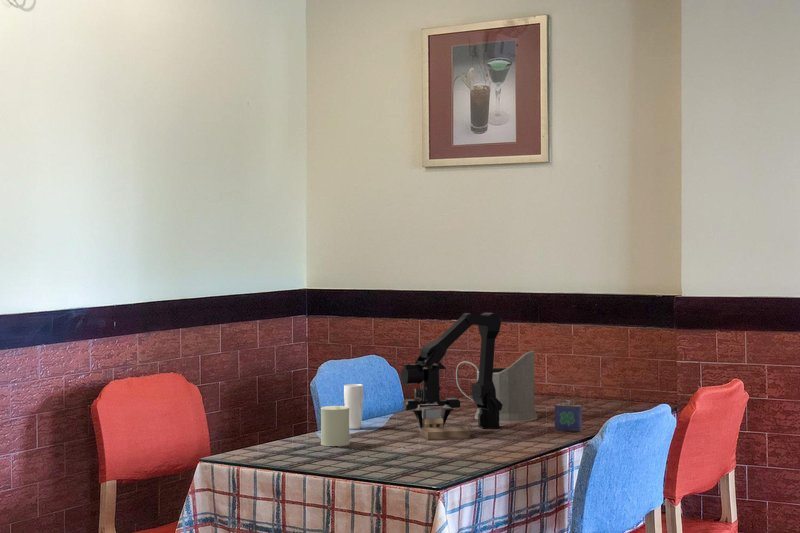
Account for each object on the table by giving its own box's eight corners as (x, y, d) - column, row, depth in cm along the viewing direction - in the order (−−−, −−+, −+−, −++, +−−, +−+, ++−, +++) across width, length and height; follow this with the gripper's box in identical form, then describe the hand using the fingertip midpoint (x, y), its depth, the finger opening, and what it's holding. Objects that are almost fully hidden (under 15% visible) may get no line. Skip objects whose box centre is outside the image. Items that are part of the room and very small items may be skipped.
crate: (436, 416, 337) (436, 407, 337) (440, 418, 332) (440, 409, 332) (422, 416, 336) (422, 408, 336) (426, 419, 331) (426, 410, 331)
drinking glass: (360, 430, 340) (360, 386, 340) (341, 429, 341) (341, 386, 341) (365, 427, 346) (365, 384, 346) (346, 426, 348) (346, 383, 348)
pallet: (437, 430, 339) (437, 415, 339) (443, 434, 331) (443, 419, 331) (420, 431, 337) (420, 416, 337) (425, 434, 330) (425, 419, 330)
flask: (582, 431, 334) (582, 399, 334) (580, 432, 331) (580, 400, 331) (555, 430, 337) (555, 398, 337) (553, 431, 335) (553, 399, 335)
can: (327, 447, 307) (327, 408, 307) (316, 443, 315) (315, 405, 315) (354, 445, 311) (354, 406, 311) (342, 440, 319) (342, 403, 319)
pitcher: (524, 423, 352) (523, 353, 352) (443, 418, 367) (443, 350, 367) (546, 415, 372) (545, 348, 372) (469, 410, 387) (468, 346, 387)
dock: (461, 433, 331) (461, 426, 331) (469, 438, 322) (469, 430, 322) (421, 435, 328) (421, 428, 328) (427, 440, 319) (427, 432, 319)
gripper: (451, 379, 344) (451, 424, 344) (399, 381, 340) (399, 426, 340) (460, 383, 333) (460, 429, 333) (406, 384, 329) (406, 431, 329)
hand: (431, 429), depth 334 cm, fingers open, 7 cm apart
